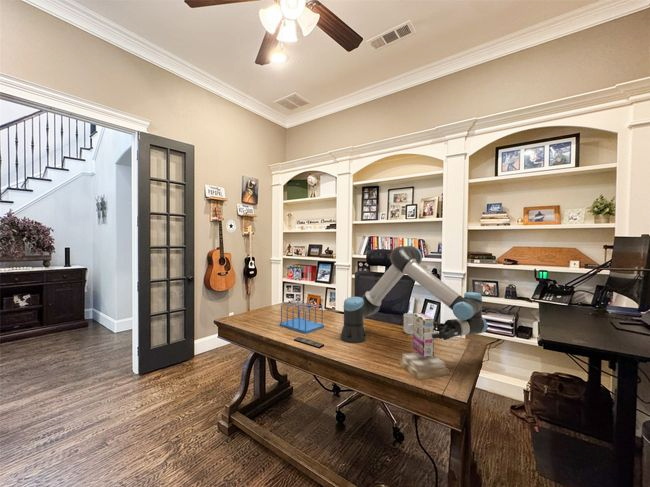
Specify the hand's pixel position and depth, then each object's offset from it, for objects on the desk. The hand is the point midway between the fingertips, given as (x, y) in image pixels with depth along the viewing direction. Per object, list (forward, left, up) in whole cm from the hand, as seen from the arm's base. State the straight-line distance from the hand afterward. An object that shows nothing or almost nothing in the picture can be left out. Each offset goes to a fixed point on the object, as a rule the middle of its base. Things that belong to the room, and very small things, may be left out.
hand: (415, 331), depth 121 cm
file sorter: (-75, -36, -17) cm, 85 cm away
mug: (-45, +29, -17) cm, 56 cm away
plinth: (0, +4, -17) cm, 17 cm away
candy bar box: (0, +4, -10) cm, 11 cm away
